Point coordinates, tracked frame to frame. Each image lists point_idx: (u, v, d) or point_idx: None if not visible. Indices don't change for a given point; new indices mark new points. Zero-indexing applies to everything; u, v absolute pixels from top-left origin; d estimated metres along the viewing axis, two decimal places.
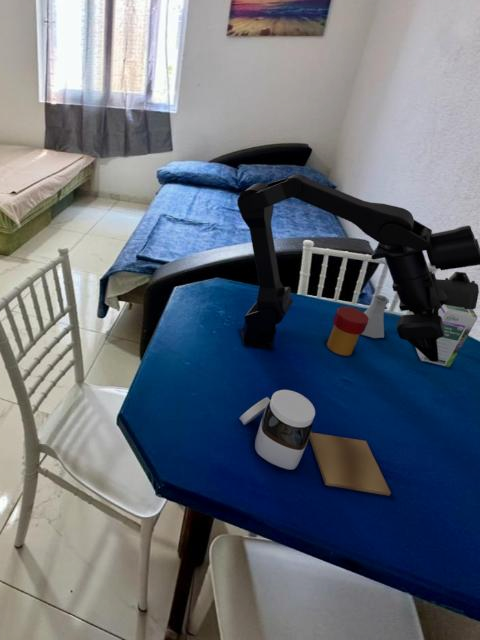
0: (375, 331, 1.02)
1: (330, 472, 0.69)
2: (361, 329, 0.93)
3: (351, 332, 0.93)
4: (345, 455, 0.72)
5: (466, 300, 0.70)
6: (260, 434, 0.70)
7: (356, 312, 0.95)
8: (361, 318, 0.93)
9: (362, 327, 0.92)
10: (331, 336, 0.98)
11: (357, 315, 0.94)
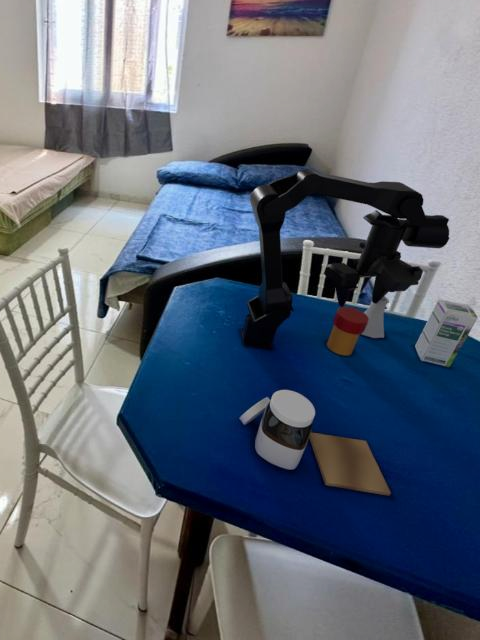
0: (375, 331, 1.02)
1: (330, 472, 0.69)
2: (361, 329, 0.93)
3: (351, 332, 0.93)
4: (345, 455, 0.72)
5: (388, 282, 0.82)
6: (260, 434, 0.70)
7: (356, 312, 0.95)
8: (361, 318, 0.93)
9: (362, 327, 0.92)
10: (331, 336, 0.98)
11: (357, 315, 0.94)
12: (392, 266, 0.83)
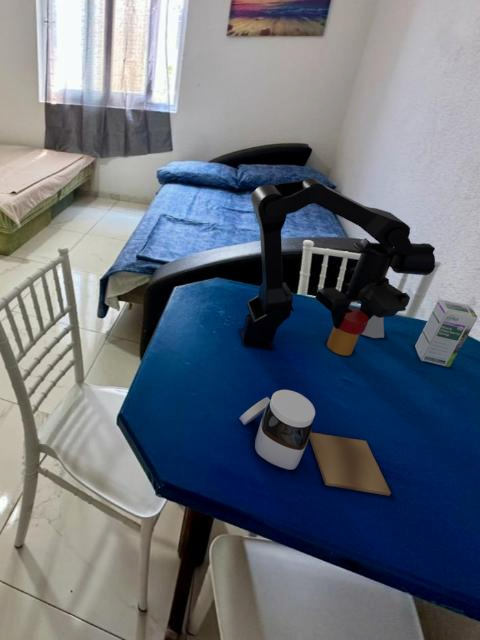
0: (375, 331, 1.02)
1: (330, 472, 0.69)
2: (361, 329, 0.93)
3: (351, 332, 0.93)
4: (345, 455, 0.72)
5: (376, 308, 0.85)
6: (260, 434, 0.70)
7: (356, 312, 0.95)
8: (361, 318, 0.93)
9: (362, 327, 0.92)
10: (331, 336, 0.98)
11: (357, 315, 0.94)
12: (380, 292, 0.86)
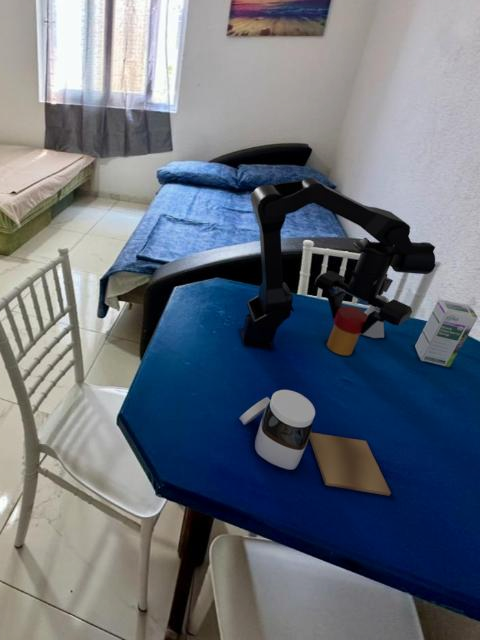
0: (375, 331, 1.02)
1: (330, 472, 0.69)
2: None
3: None
4: (345, 455, 0.72)
5: (389, 286, 0.93)
6: (260, 434, 0.70)
7: (345, 311, 0.95)
8: (352, 309, 0.96)
9: None
10: (331, 336, 0.98)
11: (350, 311, 0.95)
12: None
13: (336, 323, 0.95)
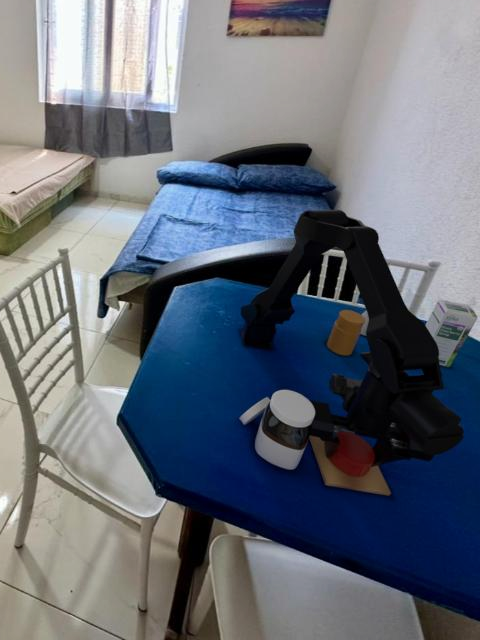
0: None
1: (330, 472, 0.69)
2: None
3: None
4: None
5: None
6: (260, 434, 0.70)
7: (345, 448, 0.69)
8: (345, 438, 0.71)
9: None
10: (331, 336, 0.98)
11: (347, 443, 0.70)
12: None
13: (343, 469, 0.69)
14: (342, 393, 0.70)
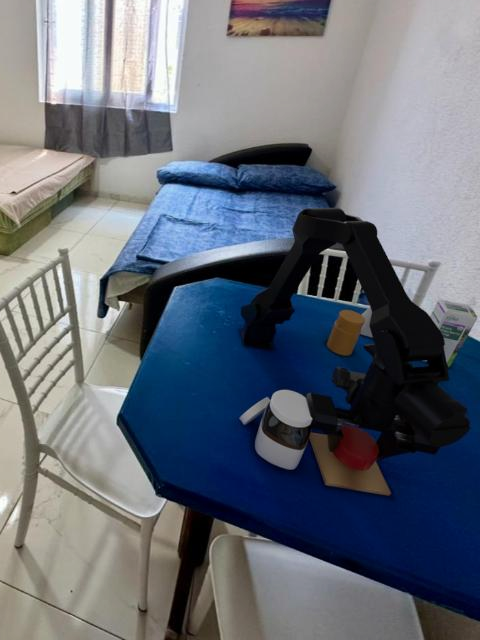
0: None
1: (330, 472, 0.69)
2: None
3: None
4: None
5: None
6: (260, 434, 0.70)
7: (348, 442, 0.69)
8: (348, 432, 0.70)
9: None
10: (331, 336, 0.98)
11: (350, 437, 0.69)
12: None
13: (346, 463, 0.68)
14: (345, 386, 0.69)
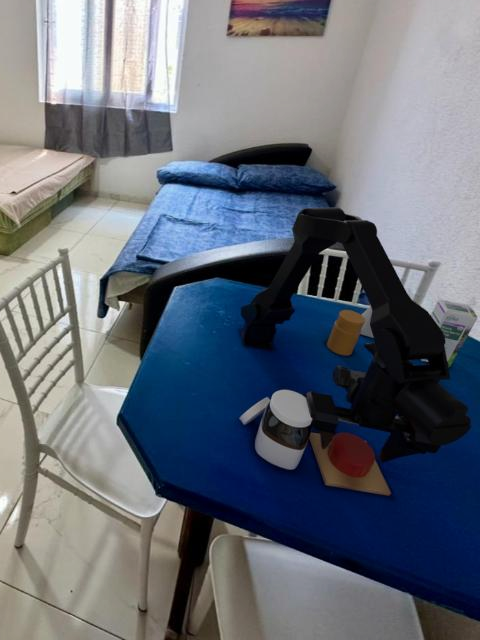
0: None
1: (330, 472, 0.69)
2: None
3: None
4: None
5: None
6: (260, 434, 0.70)
7: (345, 449, 0.69)
8: (345, 439, 0.71)
9: None
10: (331, 336, 0.98)
11: (347, 444, 0.70)
12: None
13: (343, 470, 0.69)
14: (346, 385, 0.69)
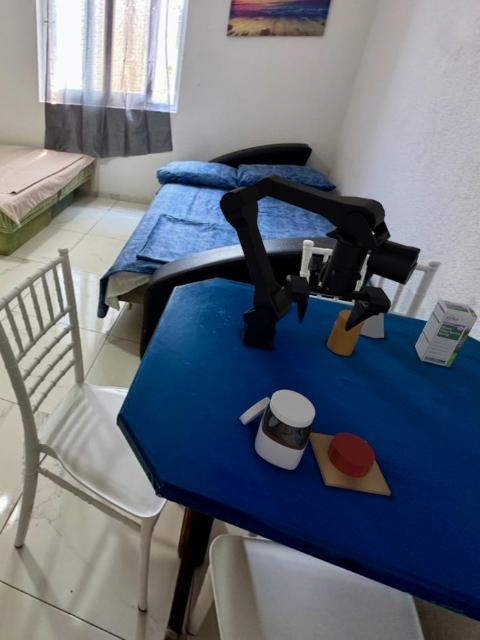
0: (375, 331, 1.02)
1: (330, 472, 0.69)
2: None
3: None
4: None
5: None
6: (260, 434, 0.70)
7: (345, 449, 0.69)
8: (345, 439, 0.71)
9: None
10: (331, 336, 0.98)
11: (347, 444, 0.70)
12: None
13: (343, 470, 0.69)
14: (318, 269, 0.85)
